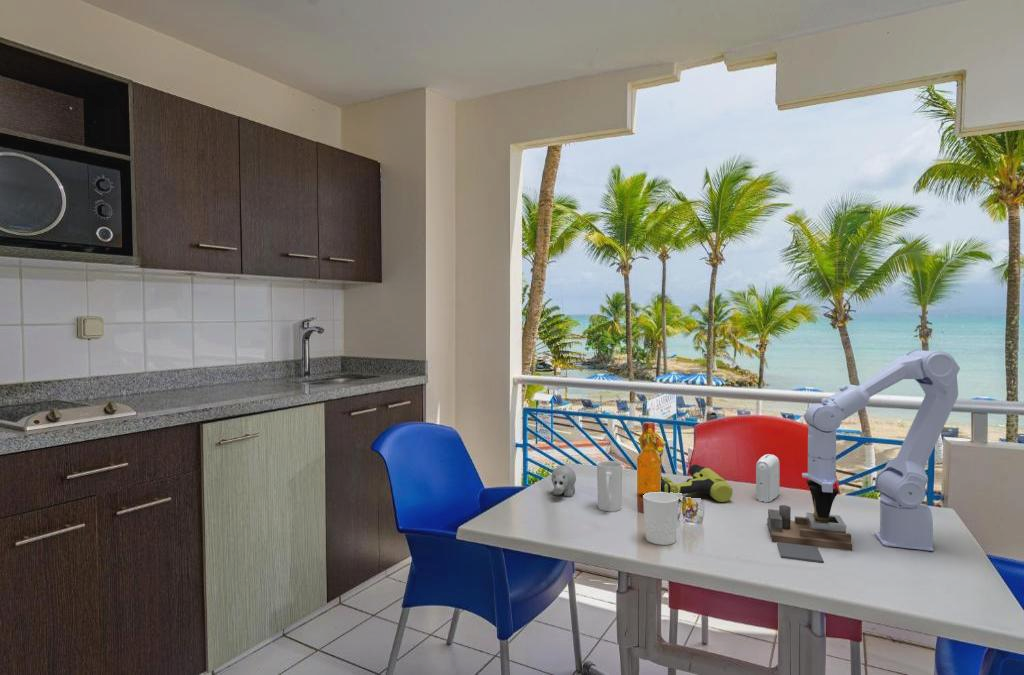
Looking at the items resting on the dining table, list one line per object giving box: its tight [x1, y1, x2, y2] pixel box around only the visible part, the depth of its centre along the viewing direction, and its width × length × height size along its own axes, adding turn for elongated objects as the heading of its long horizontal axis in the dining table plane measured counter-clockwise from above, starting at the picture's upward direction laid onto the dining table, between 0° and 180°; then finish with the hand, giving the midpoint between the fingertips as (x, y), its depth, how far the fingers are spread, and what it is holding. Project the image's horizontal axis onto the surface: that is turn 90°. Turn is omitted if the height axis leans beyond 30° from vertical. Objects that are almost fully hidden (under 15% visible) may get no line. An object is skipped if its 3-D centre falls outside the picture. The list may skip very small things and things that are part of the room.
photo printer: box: [755, 453, 780, 503], centre depth 159 cm, size 10×4×12 cm, turn 138°
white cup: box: [642, 492, 679, 546], centre depth 128 cm, size 8×8×10 cm
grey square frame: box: [805, 512, 847, 533], centre depth 128 cm, size 7×7×3 cm
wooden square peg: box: [813, 500, 829, 522], centre depth 129 cm, size 3×3×9 cm
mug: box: [596, 460, 623, 512], centre depth 150 cm, size 10×7×12 cm, turn 164°
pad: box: [776, 542, 824, 564], centre depth 120 cm, size 8×8×1 cm
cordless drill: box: [661, 464, 734, 503], centre depth 166 cm, size 7×25×25 cm
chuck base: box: [766, 504, 853, 552], centre depth 130 cm, size 16×12×6 cm
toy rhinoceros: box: [550, 465, 577, 498], centre depth 161 cm, size 7×12×8 cm, turn 161°
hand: (821, 514), depth 129 cm, fingers closed on wooden square peg, 3 cm apart
